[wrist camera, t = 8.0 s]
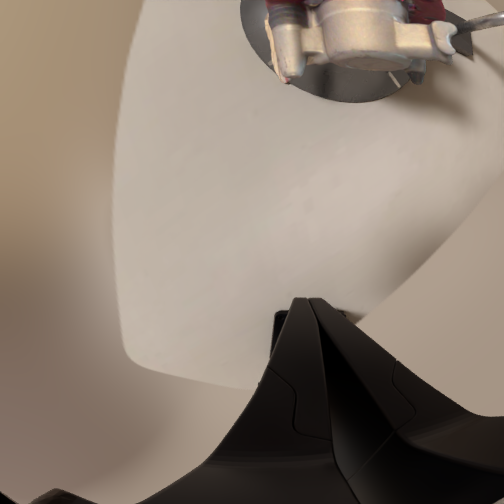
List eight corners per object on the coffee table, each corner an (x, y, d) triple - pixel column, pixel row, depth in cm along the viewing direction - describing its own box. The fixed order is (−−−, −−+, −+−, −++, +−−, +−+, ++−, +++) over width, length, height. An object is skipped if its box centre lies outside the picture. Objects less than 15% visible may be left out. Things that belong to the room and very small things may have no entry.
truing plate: (420, 119, 17) (421, 119, 17) (235, 92, 17) (235, 92, 17) (412, -21, 11) (413, -22, 11) (245, -55, 11) (244, -56, 11)
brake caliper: (404, -40, 8) (517, 4, 3) (387, 63, 18) (457, 153, 13) (251, -61, 9) (266, -79, 3) (260, 56, 19) (275, 146, 13)
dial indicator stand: (466, 56, 14) (563, 49, 3) (436, 41, 14) (536, 19, 3) (462, 23, 12) (551, 6, 2) (432, 8, 12) (521, -25, 2)
